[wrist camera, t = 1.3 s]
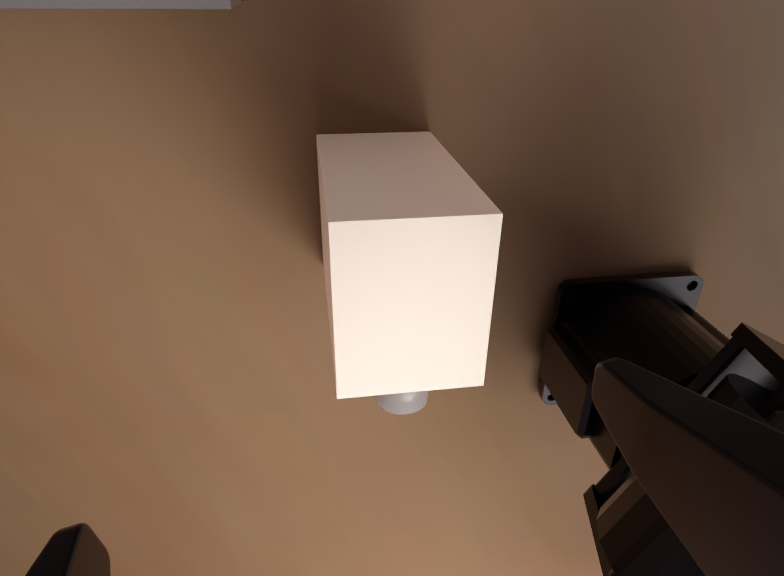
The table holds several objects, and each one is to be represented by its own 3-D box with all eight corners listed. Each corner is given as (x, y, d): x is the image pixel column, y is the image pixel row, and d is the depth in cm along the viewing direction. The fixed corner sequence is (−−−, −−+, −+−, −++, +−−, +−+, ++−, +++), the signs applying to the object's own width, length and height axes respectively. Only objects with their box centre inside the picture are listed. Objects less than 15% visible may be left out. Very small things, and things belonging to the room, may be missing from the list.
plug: (429, 131, 20) (502, 213, 13) (423, 289, 23) (478, 424, 16) (316, 134, 19) (328, 222, 12) (325, 295, 22) (339, 438, 15)
